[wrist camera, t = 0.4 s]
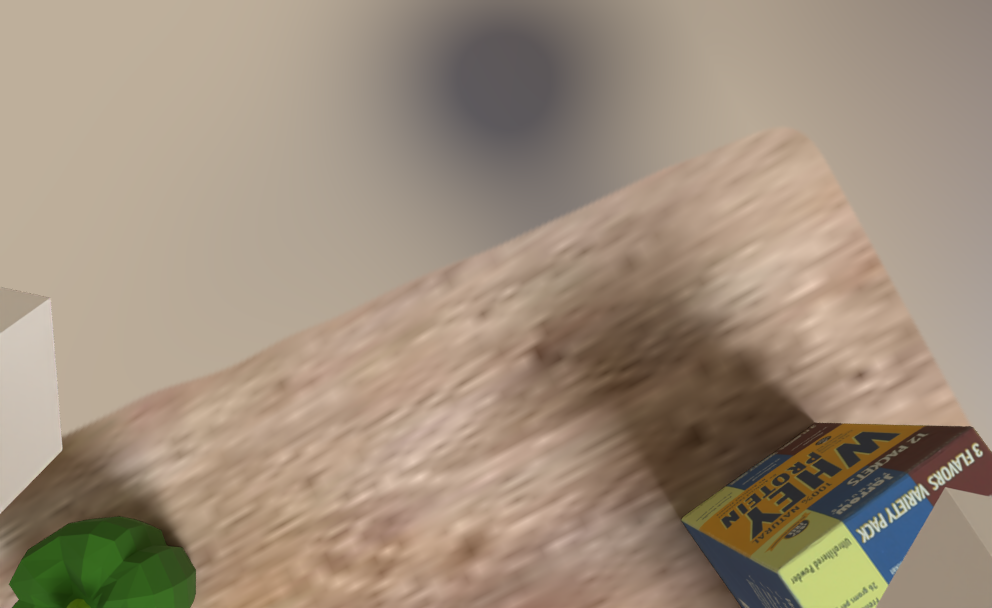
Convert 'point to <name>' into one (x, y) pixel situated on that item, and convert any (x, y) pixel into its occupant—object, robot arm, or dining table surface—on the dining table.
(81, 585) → the bell pepper
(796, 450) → the protein box
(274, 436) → the dining table surface
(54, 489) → the dining table surface
